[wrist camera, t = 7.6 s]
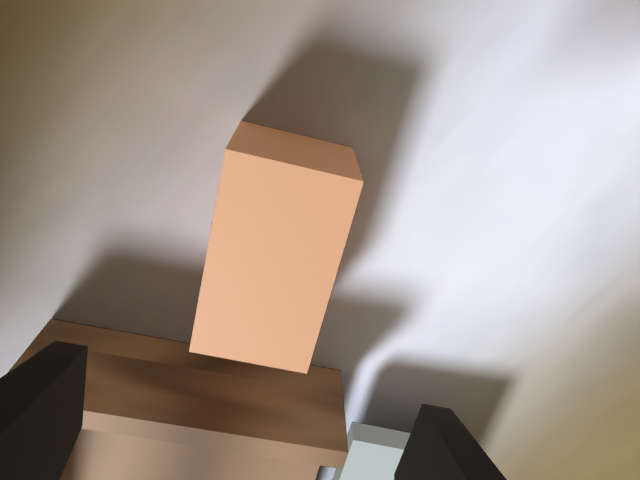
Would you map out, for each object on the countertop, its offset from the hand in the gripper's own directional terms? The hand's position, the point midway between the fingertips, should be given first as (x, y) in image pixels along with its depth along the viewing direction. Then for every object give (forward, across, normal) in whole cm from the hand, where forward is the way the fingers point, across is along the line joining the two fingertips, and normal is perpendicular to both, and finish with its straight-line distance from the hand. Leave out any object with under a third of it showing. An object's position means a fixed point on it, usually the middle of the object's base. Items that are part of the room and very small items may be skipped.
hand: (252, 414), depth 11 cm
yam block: (+10, 0, 0) cm, 10 cm away
